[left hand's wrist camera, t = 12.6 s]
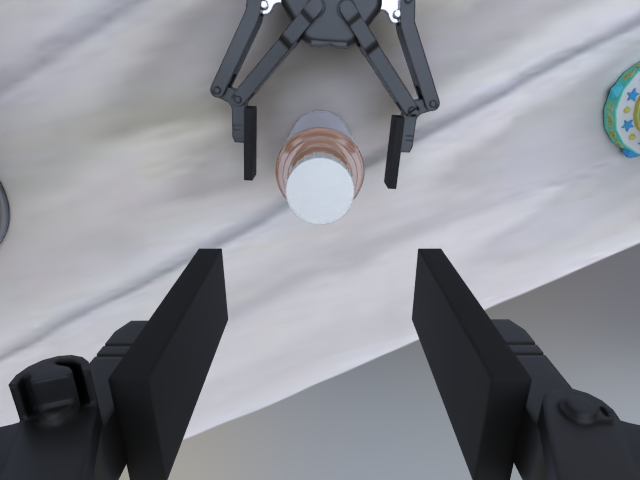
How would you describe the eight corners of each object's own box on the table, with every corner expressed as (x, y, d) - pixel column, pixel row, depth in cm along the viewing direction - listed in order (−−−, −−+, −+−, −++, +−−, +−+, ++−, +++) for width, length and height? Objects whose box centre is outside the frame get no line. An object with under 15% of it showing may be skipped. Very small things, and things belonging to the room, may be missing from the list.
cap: (365, 193, 28) (368, 201, 26) (311, 227, 29) (310, 237, 27) (329, 138, 27) (330, 142, 25) (274, 175, 28) (270, 182, 26)
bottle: (361, 150, 47) (391, 204, 27) (311, 183, 48) (306, 257, 28) (328, 97, 45) (335, 114, 25) (277, 133, 46) (246, 176, 26)
